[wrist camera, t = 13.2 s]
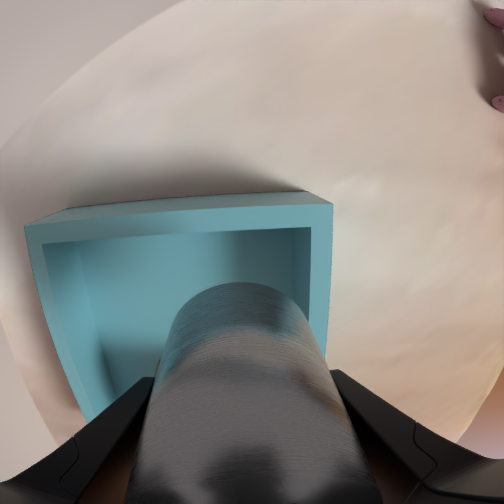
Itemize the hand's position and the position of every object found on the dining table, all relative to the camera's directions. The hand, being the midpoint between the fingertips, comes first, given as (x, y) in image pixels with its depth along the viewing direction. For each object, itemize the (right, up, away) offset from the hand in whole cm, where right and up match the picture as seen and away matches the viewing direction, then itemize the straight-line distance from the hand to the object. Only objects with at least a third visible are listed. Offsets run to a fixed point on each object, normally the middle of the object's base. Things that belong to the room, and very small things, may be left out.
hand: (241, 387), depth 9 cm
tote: (-4, -1, +12) cm, 12 cm away
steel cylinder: (0, +1, +2) cm, 2 cm away
